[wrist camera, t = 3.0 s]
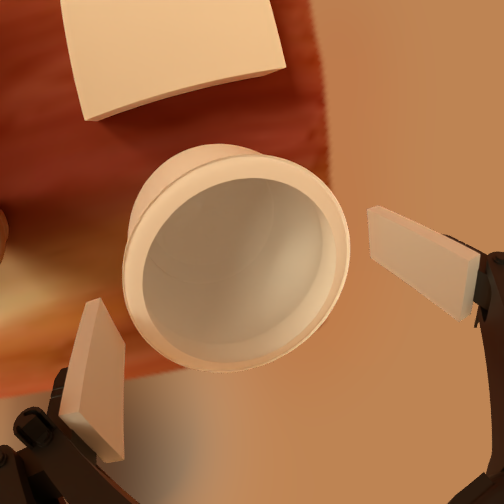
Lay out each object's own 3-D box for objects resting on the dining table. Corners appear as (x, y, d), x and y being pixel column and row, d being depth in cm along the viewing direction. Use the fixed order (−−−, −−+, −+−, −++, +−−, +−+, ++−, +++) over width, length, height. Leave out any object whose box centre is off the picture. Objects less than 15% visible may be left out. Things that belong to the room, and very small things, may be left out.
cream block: (97, 121, 22) (84, 120, 17) (69, -20, 16) (55, -44, 11) (263, 76, 24) (286, 67, 20) (228, -56, 18) (243, -83, 14)
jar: (168, 117, 24) (186, 107, 10) (276, 169, 28) (387, 218, 15) (117, 235, 26) (93, 347, 13) (224, 273, 30) (284, 388, 17)
